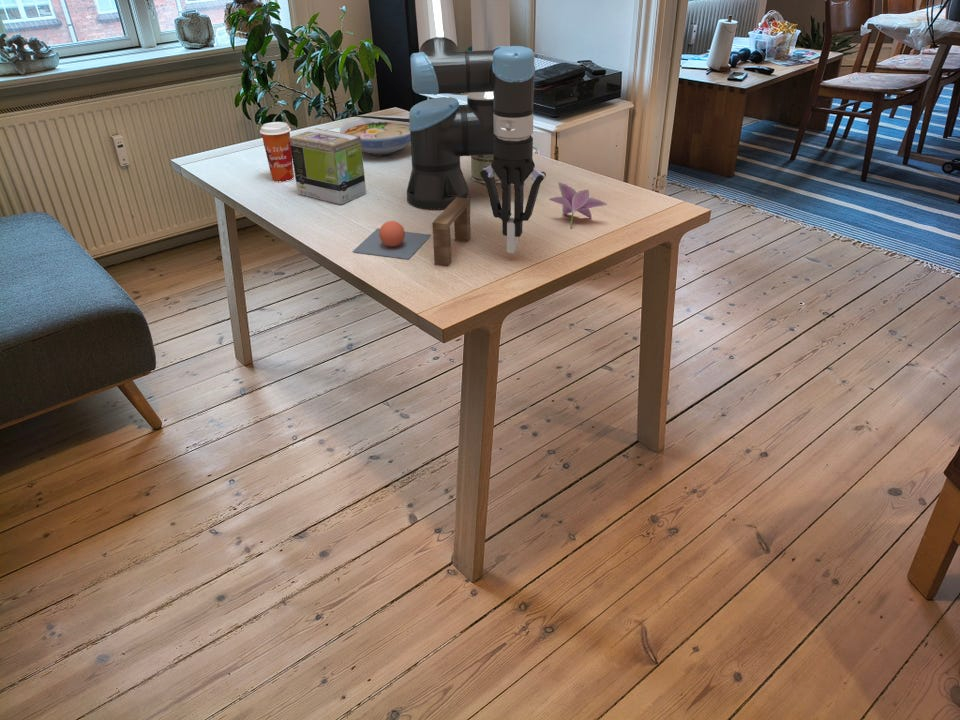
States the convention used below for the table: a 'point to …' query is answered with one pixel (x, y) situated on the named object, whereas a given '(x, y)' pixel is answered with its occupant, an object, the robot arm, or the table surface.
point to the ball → (392, 233)
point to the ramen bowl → (379, 133)
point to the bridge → (441, 229)
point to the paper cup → (278, 150)
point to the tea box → (328, 165)
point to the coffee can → (481, 167)
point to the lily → (576, 201)
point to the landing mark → (401, 251)
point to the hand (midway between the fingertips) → (512, 249)
